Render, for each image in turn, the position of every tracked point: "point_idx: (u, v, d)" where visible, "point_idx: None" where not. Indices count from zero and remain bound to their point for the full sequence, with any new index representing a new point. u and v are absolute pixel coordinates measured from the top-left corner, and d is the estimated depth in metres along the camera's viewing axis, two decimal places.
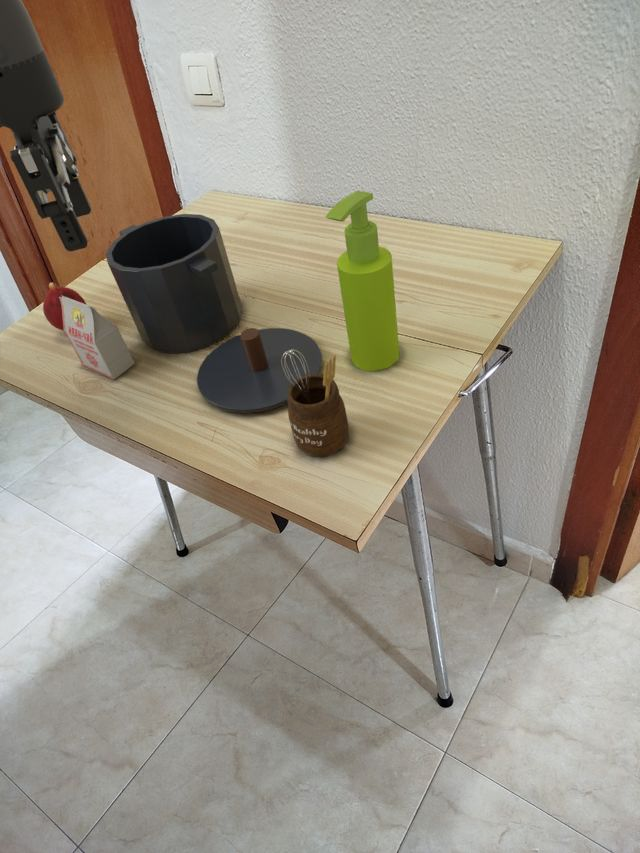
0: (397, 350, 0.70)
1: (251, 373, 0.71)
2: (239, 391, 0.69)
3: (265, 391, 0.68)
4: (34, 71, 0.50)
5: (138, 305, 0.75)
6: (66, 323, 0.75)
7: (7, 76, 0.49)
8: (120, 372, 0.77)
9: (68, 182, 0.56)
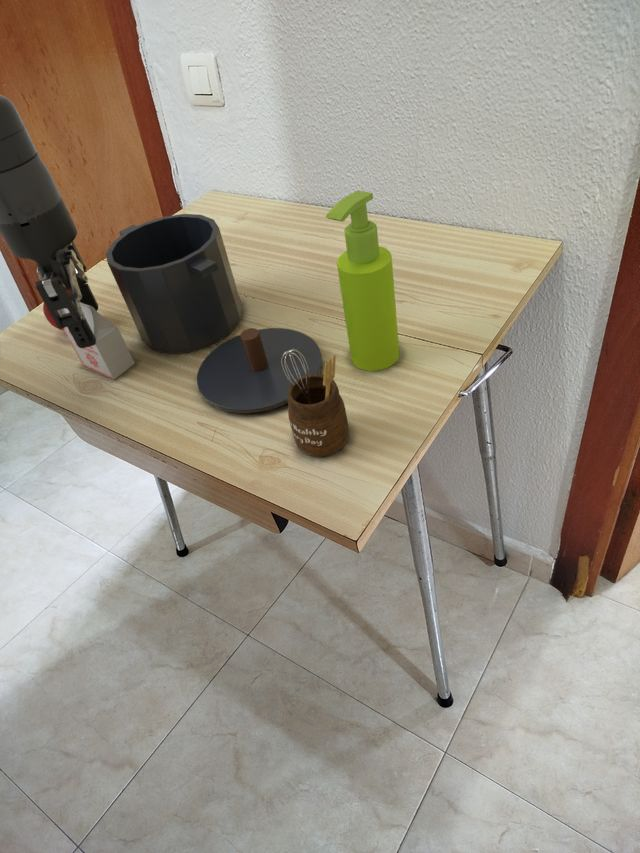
0: (397, 350, 0.70)
1: (251, 373, 0.71)
2: (239, 391, 0.69)
3: (265, 391, 0.68)
4: (54, 217, 0.63)
5: (138, 305, 0.75)
6: None
7: (33, 224, 0.62)
8: (120, 372, 0.77)
9: (80, 296, 0.69)
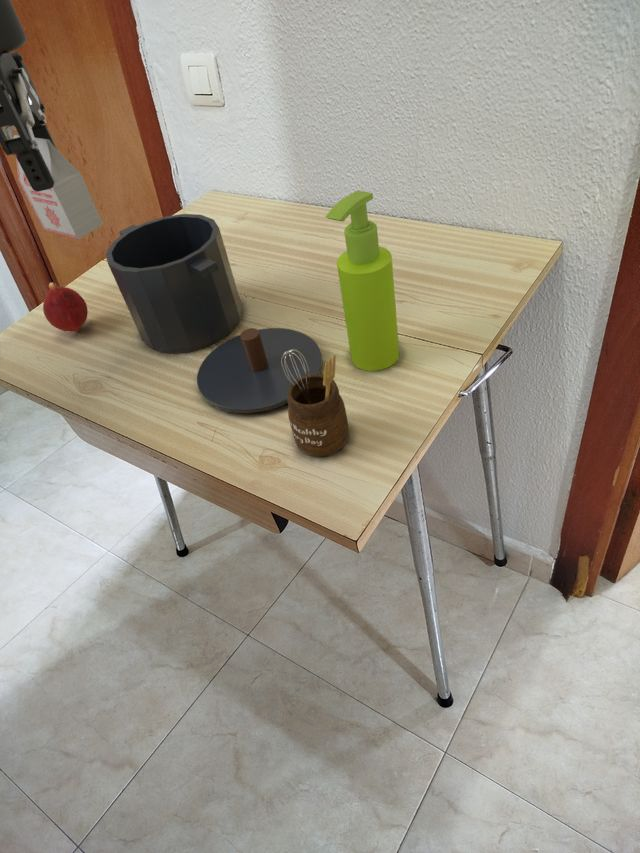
0: (397, 350, 0.70)
1: (251, 373, 0.71)
2: (239, 391, 0.69)
3: (265, 391, 0.68)
4: None
5: (138, 305, 0.75)
6: (20, 170, 0.64)
7: None
8: (85, 232, 0.66)
9: (32, 121, 0.58)
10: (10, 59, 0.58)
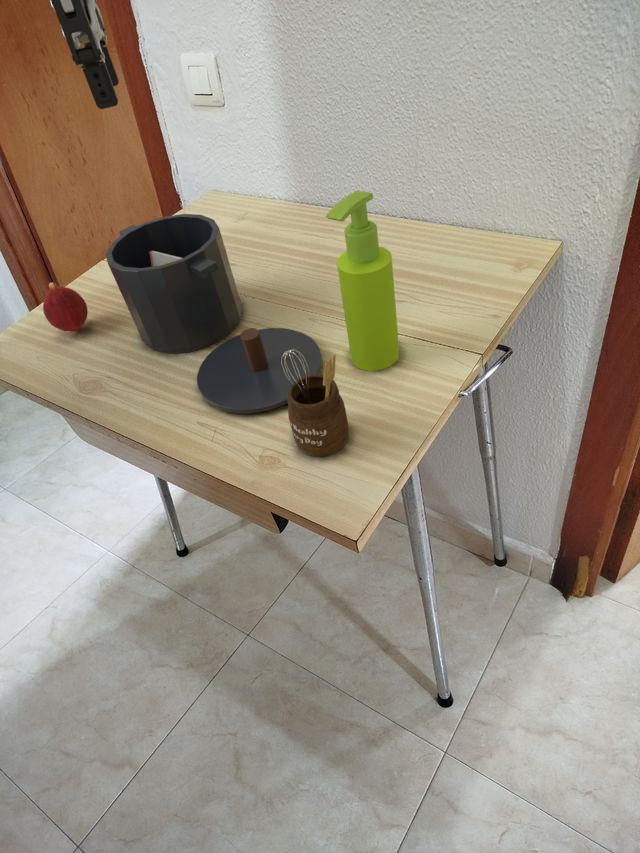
0: (397, 350, 0.70)
1: (251, 373, 0.71)
2: (239, 391, 0.69)
3: (265, 391, 0.68)
4: None
5: (138, 305, 0.75)
6: None
7: None
8: None
9: (101, 34, 0.57)
10: None
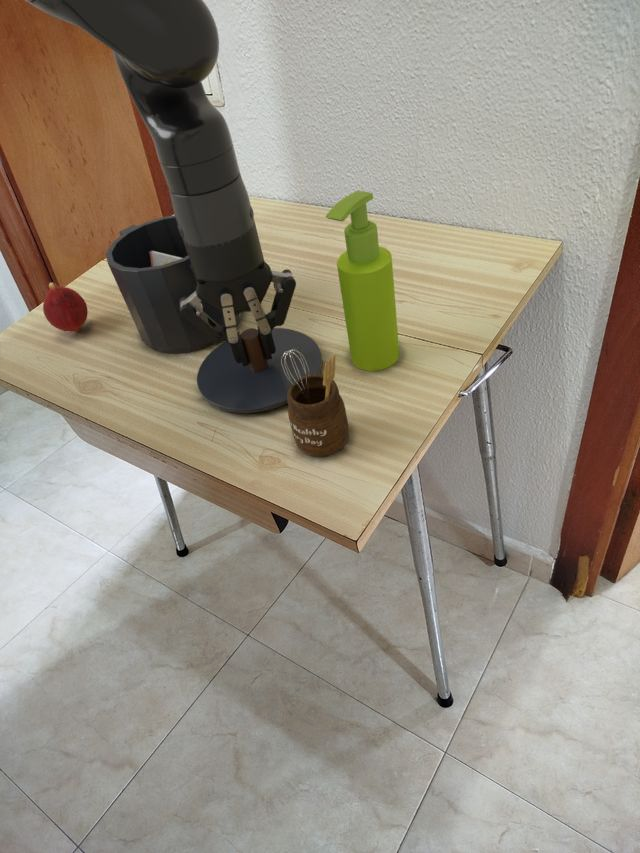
0: (397, 350, 0.70)
1: (251, 373, 0.71)
2: (239, 391, 0.69)
3: (265, 391, 0.68)
4: (199, 254, 0.58)
5: (138, 305, 0.75)
6: None
7: (185, 246, 0.59)
8: None
9: (232, 325, 0.66)
10: (251, 275, 0.63)
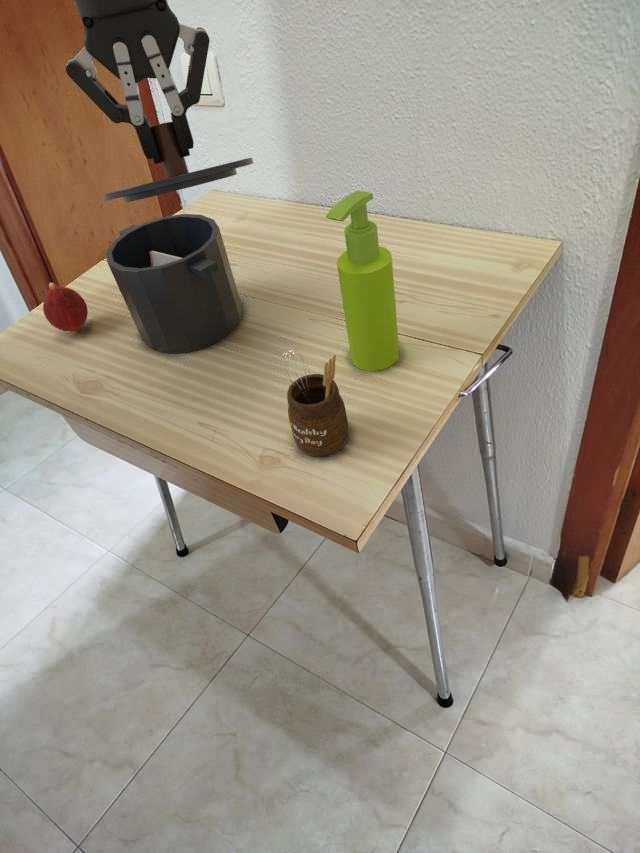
0: (397, 350, 0.70)
1: None
2: None
3: None
4: None
5: (138, 305, 0.75)
6: None
7: None
8: None
9: (133, 95, 0.54)
10: (151, 21, 0.51)
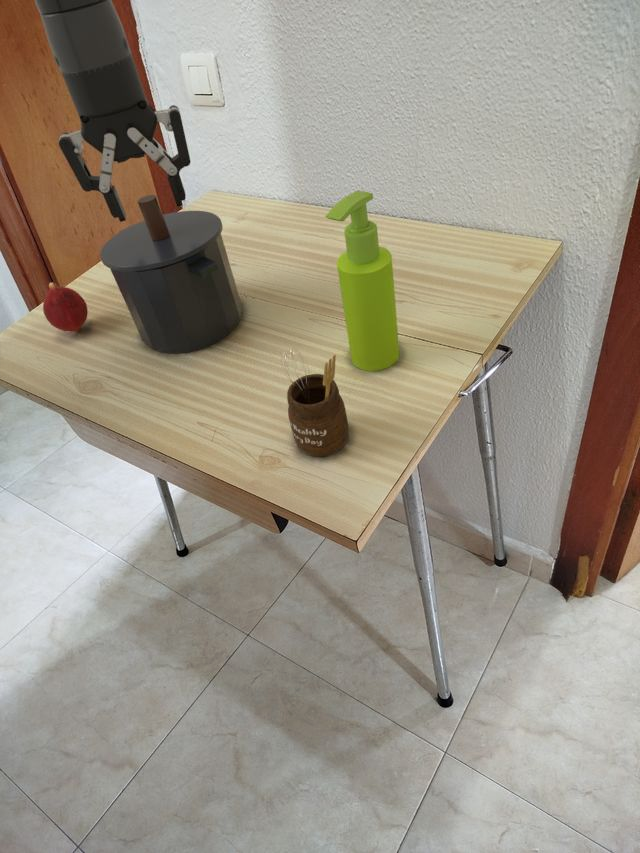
0: (397, 350, 0.70)
1: (151, 242, 0.73)
2: (135, 255, 0.71)
3: (159, 253, 0.70)
4: (74, 82, 0.60)
5: (138, 305, 0.75)
6: None
7: (63, 78, 0.61)
8: None
9: (108, 171, 0.67)
10: (134, 116, 0.64)
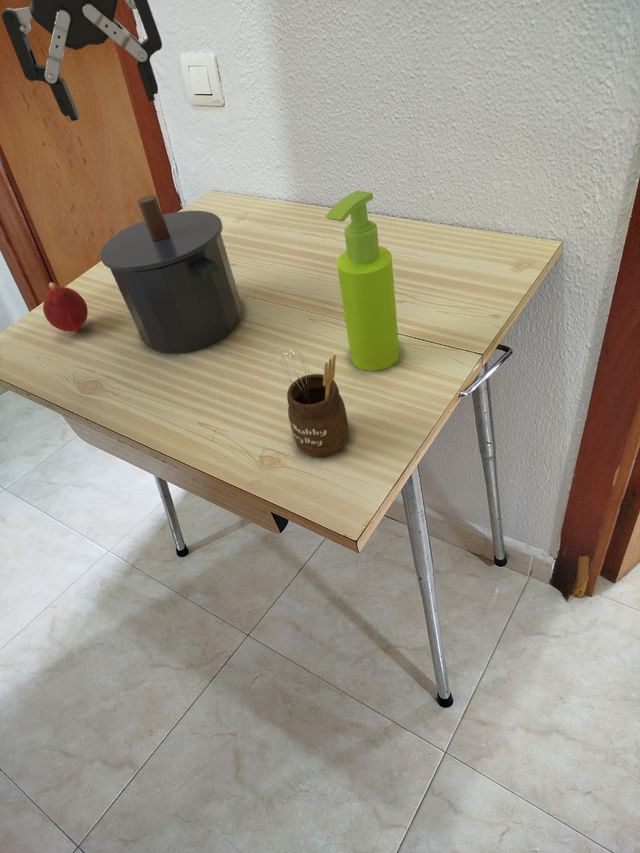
0: (397, 350, 0.70)
1: (151, 242, 0.73)
2: (135, 255, 0.71)
3: (159, 253, 0.70)
4: None
5: (138, 305, 0.75)
6: None
7: None
8: None
9: (57, 57, 0.59)
10: None
